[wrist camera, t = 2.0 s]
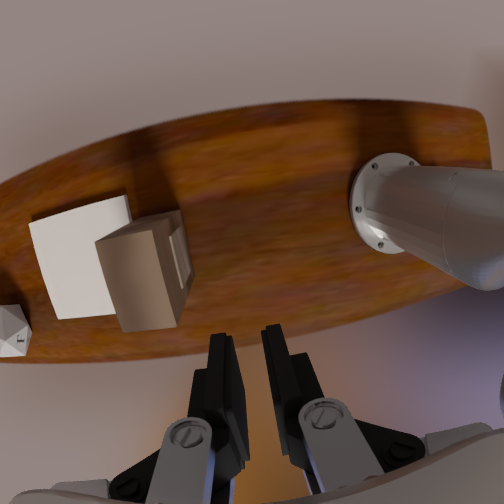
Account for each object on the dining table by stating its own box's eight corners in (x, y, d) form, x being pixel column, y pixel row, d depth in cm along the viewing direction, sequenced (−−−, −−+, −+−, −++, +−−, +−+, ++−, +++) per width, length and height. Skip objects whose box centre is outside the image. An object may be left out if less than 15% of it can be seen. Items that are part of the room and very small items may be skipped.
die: (30, 348, 36) (29, 373, 29) (-11, 336, 31) (-21, 359, 23) (35, 305, 37) (33, 321, 30) (-7, 291, 32) (-19, 305, 24)
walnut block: (182, 208, 32) (154, 229, 20) (196, 275, 34) (179, 326, 22) (139, 217, 31) (94, 242, 20) (155, 282, 34) (123, 332, 22)
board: (126, 194, 31) (123, 195, 30) (154, 305, 34) (152, 308, 33) (32, 222, 30) (28, 223, 29) (61, 316, 34) (58, 319, 33)
